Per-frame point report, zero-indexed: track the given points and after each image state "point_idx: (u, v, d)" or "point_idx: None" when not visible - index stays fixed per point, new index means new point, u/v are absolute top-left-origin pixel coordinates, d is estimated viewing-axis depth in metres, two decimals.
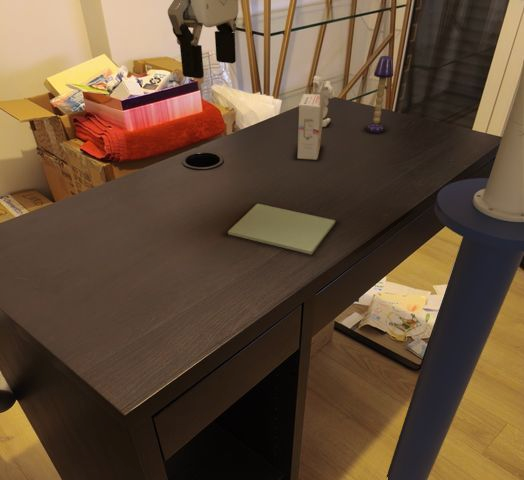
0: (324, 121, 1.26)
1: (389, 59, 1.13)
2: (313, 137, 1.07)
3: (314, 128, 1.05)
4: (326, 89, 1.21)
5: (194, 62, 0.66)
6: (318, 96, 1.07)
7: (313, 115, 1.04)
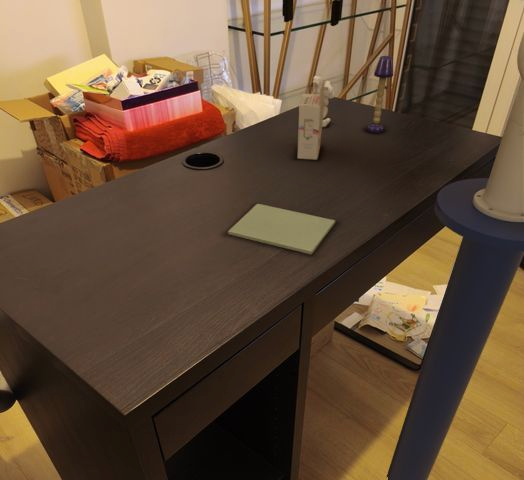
0: (324, 121, 1.26)
1: (389, 59, 1.13)
2: (313, 137, 1.07)
3: (314, 128, 1.05)
4: (326, 89, 1.21)
5: (284, 9, 0.94)
6: (318, 96, 1.07)
7: (313, 115, 1.04)
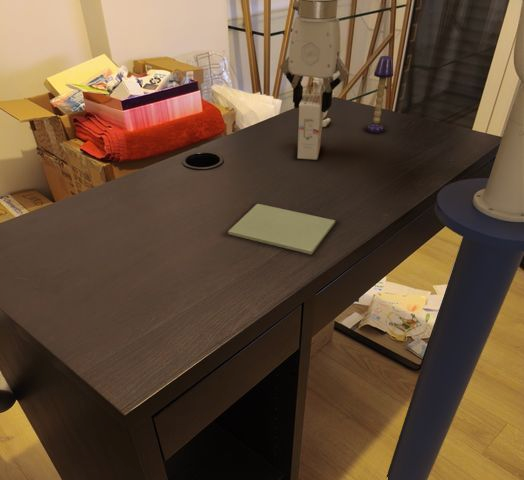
0: (324, 121, 1.26)
1: (389, 59, 1.13)
2: (313, 137, 1.07)
3: (314, 128, 1.05)
4: None
5: None
6: (318, 96, 1.07)
7: (313, 115, 1.04)
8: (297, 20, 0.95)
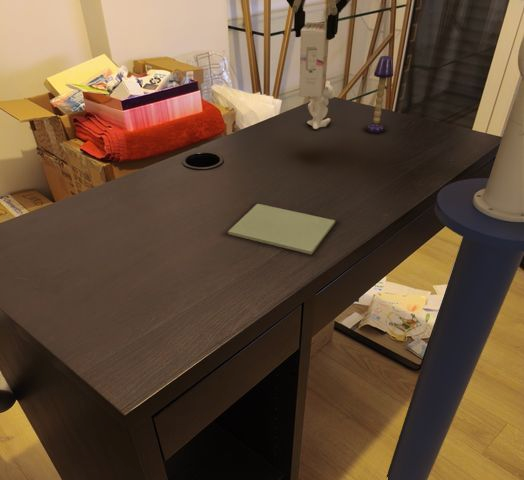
0: (324, 121, 1.26)
1: (389, 59, 1.13)
2: (317, 69, 0.94)
3: (318, 58, 0.93)
4: (326, 89, 1.21)
5: (295, 24, 0.94)
6: (323, 23, 0.95)
7: (317, 42, 0.91)
8: None
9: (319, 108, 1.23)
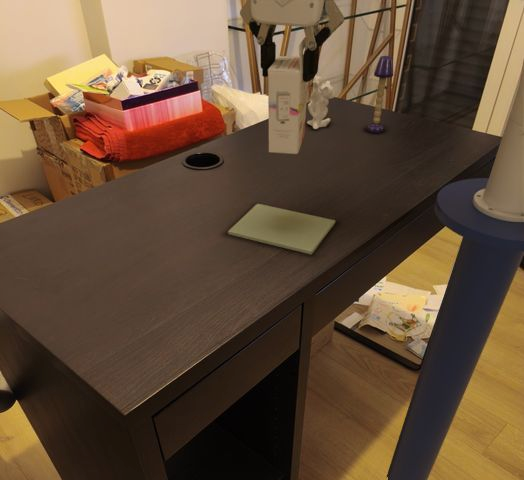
0: (324, 121, 1.26)
1: (389, 59, 1.13)
2: (291, 120, 0.71)
3: (292, 106, 0.70)
4: (326, 89, 1.21)
5: None
6: (299, 59, 0.71)
7: (290, 86, 0.68)
8: None
9: (319, 108, 1.23)
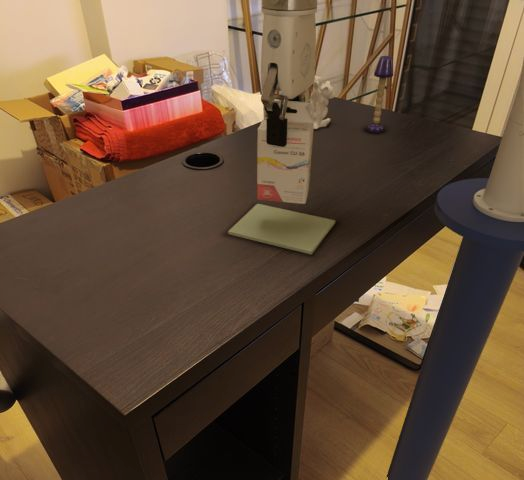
0: (324, 121, 1.26)
1: (389, 59, 1.13)
2: (310, 166, 0.79)
3: None
4: (326, 89, 1.21)
5: (279, 133, 0.72)
6: None
7: (312, 138, 0.76)
8: (295, 17, 0.62)
9: (319, 108, 1.23)
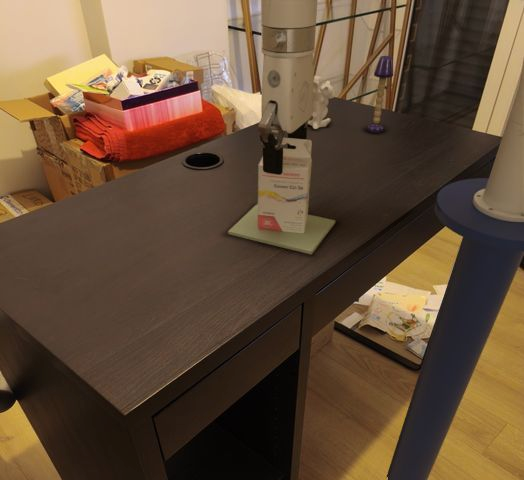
0: (324, 121, 1.26)
1: (389, 59, 1.13)
2: (308, 198, 0.83)
3: (309, 187, 0.82)
4: (326, 89, 1.21)
5: (275, 162, 0.73)
6: None
7: (310, 172, 0.80)
8: (293, 59, 0.65)
9: (319, 108, 1.23)
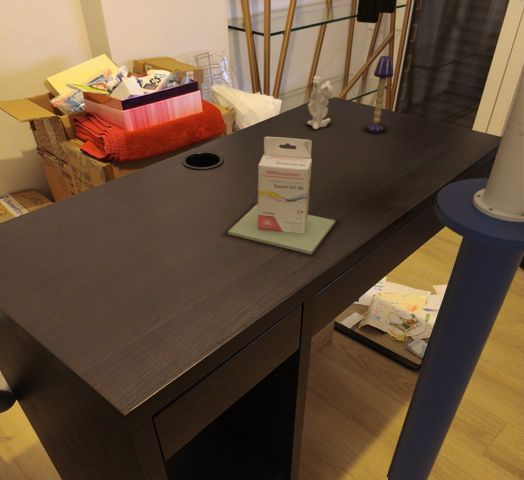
0: (324, 121, 1.26)
1: (389, 59, 1.13)
2: (308, 198, 0.83)
3: (309, 187, 0.82)
4: (326, 89, 1.21)
5: (373, 6, 0.69)
6: (272, 157, 0.80)
7: (310, 172, 0.80)
8: None
9: (319, 108, 1.23)
